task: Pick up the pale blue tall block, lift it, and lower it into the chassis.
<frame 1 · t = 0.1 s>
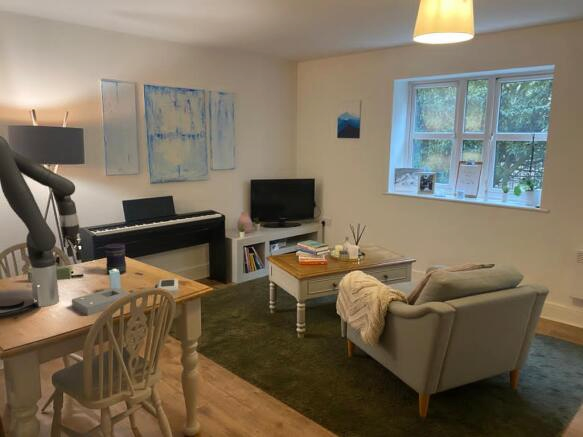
hand: (74, 258, 204), 17 cm above the table, tool pointing down, fingers open, 8 cm apart
handheld radio: (56, 280, 227), on the table
keypad: (167, 290, 215), on the table
storage jar: (116, 272, 239), on the table
chassis: (102, 304, 196), on the table
pale blue tall block: (115, 291, 212), on the table
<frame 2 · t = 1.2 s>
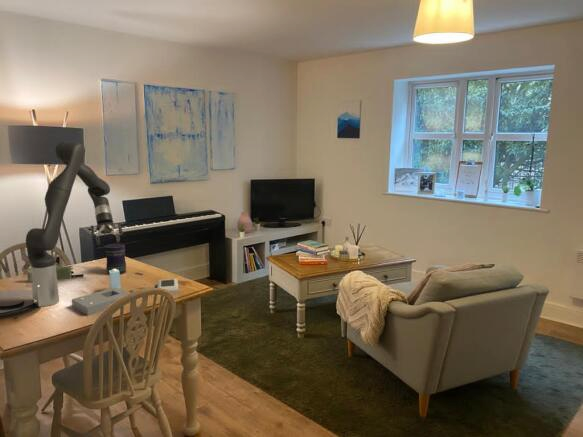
hand: (108, 243, 217), 21 cm above the table, tool tilted 45°, fingers open, 8 cm apart
nothing on the table moved.
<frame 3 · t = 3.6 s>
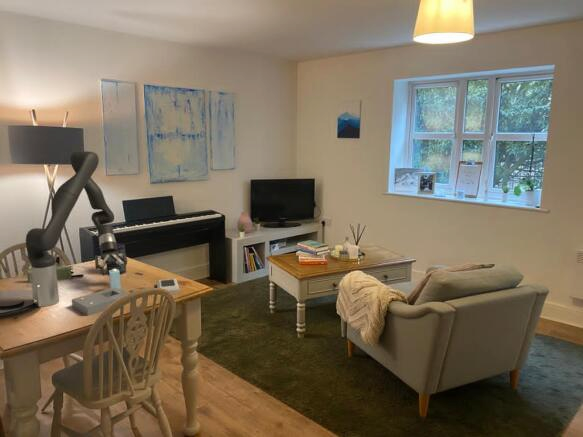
hand: (113, 273, 212), 8 cm above the table, tool tilted 45°, fingers open, 8 cm apart
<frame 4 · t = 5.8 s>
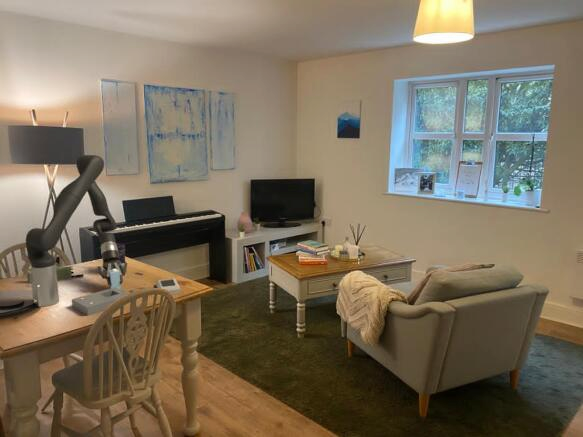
hand: (115, 284, 209), 4 cm above the table, tool tilted 45°, fingers closed on pale blue tall block, 4 cm apart
pale blue tall block: (115, 291, 212), on the table, touching gripper
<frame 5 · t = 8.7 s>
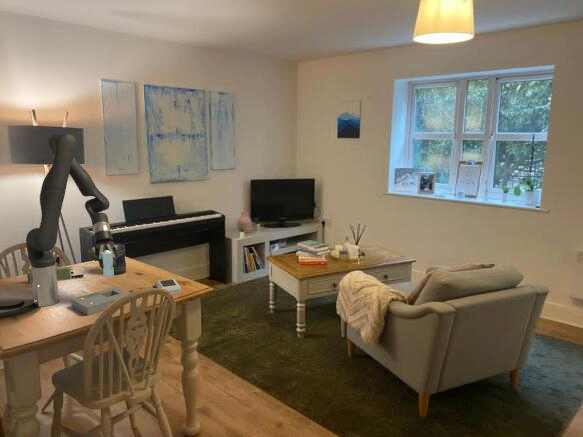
hand: (108, 266, 194), 16 cm above the table, tool tilted 45°, fingers closed on pale blue tall block, 4 cm apart
pale blue tall block: (108, 274, 197), point 12 cm above the table, touching gripper
when the fingers open (5 cm above the table, at t = 11.3 s): pale blue tall block drops 1 cm, resting in chassis.
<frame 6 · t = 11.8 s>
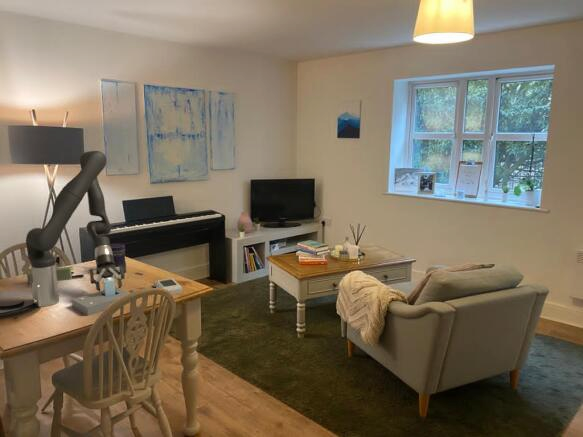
hand: (109, 289, 197), 6 cm above the table, tool tilted 45°, fingers open, 8 cm apart
pale blue tall block: (110, 301, 199), resting in chassis
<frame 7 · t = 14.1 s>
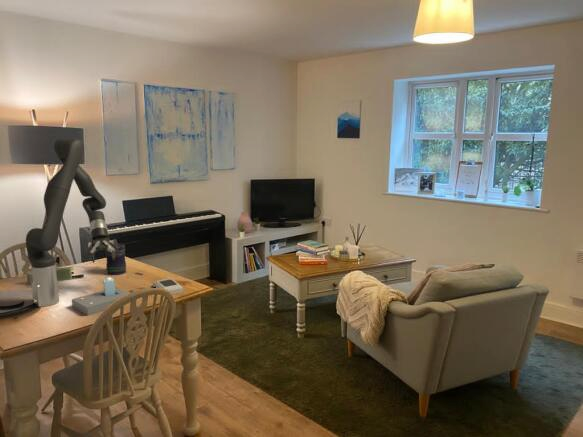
hand: (104, 260, 206), 16 cm above the table, tool tilted 45°, fingers open, 8 cm apart
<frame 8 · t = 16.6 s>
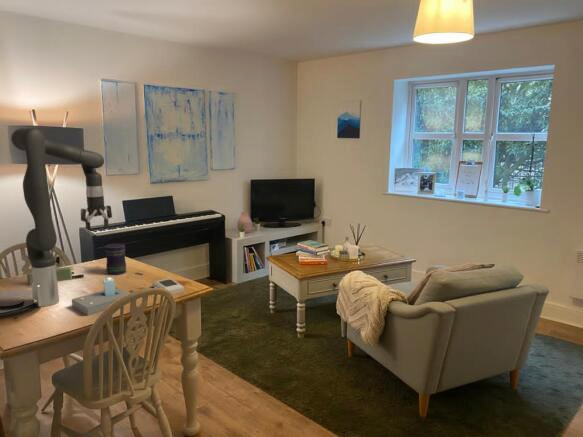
hand: (97, 228, 216), 28 cm above the table, tool pointing down, fingers open, 8 cm apart
at the end: pale blue tall block 0.1 cm from the target spot on the chassis, point 0.0 cm above the chassis's base; pale blue tall block tilted 0°; the gripper is holding nothing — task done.
